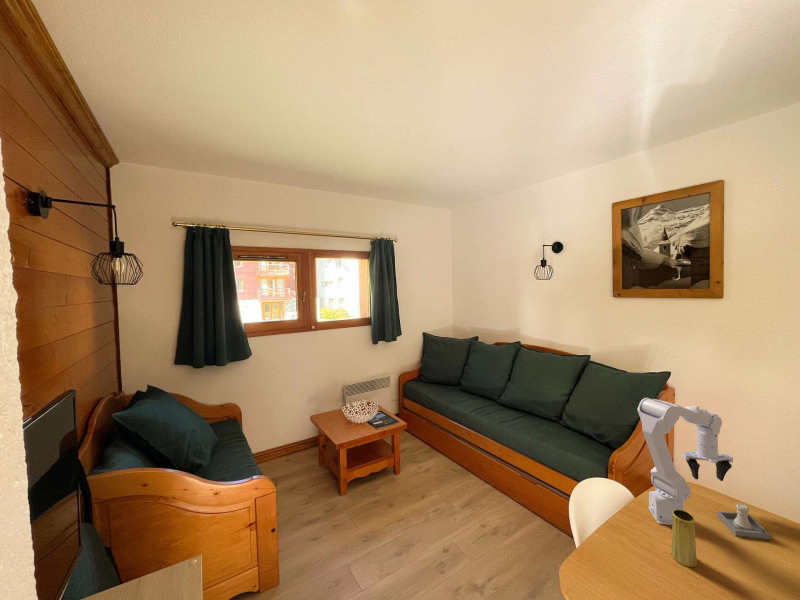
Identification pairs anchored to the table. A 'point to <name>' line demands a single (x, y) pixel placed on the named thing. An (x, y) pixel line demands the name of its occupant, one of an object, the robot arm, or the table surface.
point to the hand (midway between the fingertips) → (707, 478)
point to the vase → (683, 538)
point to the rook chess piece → (742, 518)
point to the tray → (756, 531)
